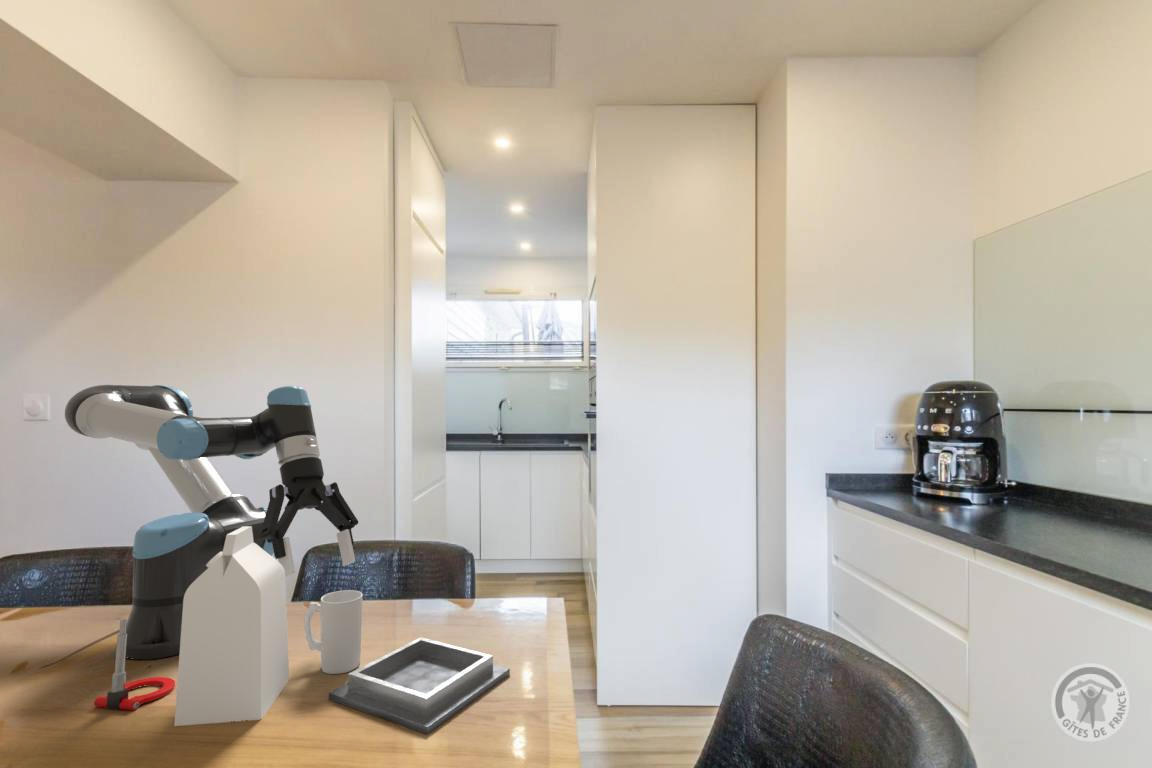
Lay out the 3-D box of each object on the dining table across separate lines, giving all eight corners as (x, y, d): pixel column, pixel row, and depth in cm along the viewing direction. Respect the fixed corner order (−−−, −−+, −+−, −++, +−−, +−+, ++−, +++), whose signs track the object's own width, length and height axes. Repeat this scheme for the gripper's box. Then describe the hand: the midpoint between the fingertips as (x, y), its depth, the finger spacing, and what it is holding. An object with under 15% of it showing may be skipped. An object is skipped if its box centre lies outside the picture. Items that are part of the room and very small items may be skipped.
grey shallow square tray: (328, 699, 90) (328, 676, 90) (419, 650, 107) (420, 631, 107) (427, 734, 80) (427, 708, 80) (509, 674, 98) (509, 653, 98)
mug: (368, 658, 104) (368, 590, 104) (351, 675, 97) (352, 603, 98) (313, 656, 104) (314, 589, 105) (293, 674, 98) (294, 602, 98)
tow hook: (142, 682, 96) (87, 708, 87) (148, 602, 97) (94, 619, 88) (187, 686, 95) (136, 713, 85) (192, 605, 96) (143, 623, 86)
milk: (261, 719, 84) (264, 538, 85) (174, 726, 82) (178, 540, 83) (289, 680, 96) (292, 521, 97) (213, 685, 94) (217, 523, 95)
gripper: (253, 454, 102) (273, 575, 96) (362, 455, 124) (383, 554, 118) (226, 469, 105) (244, 587, 99) (337, 467, 127) (358, 564, 121)
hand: (320, 569), depth 109 cm, fingers open, 13 cm apart
